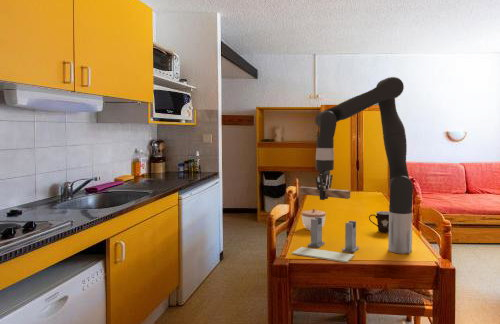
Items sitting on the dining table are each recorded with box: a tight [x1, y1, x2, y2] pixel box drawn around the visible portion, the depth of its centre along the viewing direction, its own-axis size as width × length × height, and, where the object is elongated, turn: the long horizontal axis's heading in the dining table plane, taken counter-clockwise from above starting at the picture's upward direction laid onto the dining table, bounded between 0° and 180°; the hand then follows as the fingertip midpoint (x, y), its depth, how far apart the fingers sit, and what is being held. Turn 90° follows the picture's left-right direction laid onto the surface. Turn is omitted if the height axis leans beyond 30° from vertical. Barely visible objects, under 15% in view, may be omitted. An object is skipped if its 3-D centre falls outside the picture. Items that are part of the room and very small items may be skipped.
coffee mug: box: [368, 210, 389, 234], centre depth 217 cm, size 12×9×10 cm
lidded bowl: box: [301, 208, 327, 232], centre depth 223 cm, size 13×13×11 cm
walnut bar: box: [298, 186, 351, 200], centre depth 177 cm, size 22×3×3 cm, turn 58°
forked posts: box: [307, 217, 360, 254], centre depth 187 cm, size 21×8×12 cm, turn 60°
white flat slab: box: [291, 246, 355, 263], centre depth 176 cm, size 24×10×1 cm, turn 60°
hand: (323, 199), depth 177 cm, fingers closed on walnut bar, 3 cm apart
